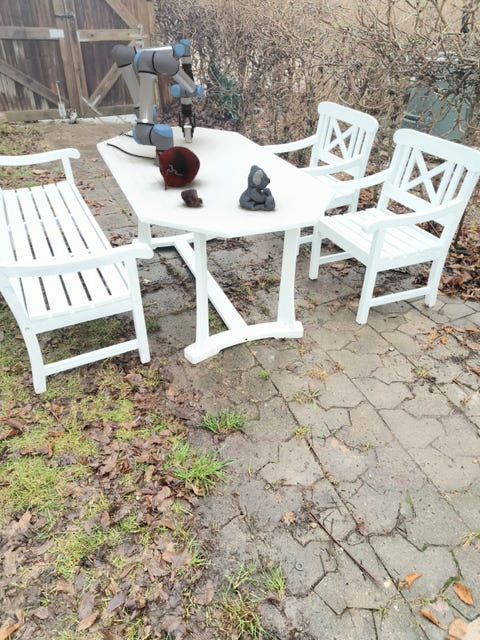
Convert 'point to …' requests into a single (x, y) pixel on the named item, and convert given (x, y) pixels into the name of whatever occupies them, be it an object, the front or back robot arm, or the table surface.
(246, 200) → the koala plush
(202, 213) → the table surface
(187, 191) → the rock
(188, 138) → the canister
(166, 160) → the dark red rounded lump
